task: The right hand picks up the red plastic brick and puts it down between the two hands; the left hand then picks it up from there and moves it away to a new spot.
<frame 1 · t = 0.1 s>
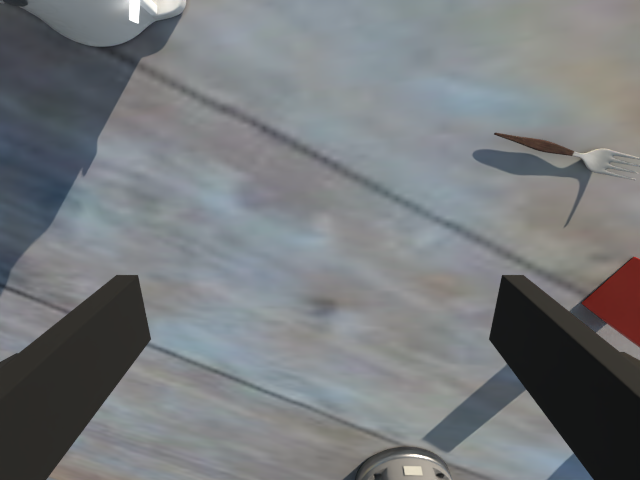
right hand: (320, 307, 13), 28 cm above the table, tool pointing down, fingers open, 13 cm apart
fork: (558, 150, 38), on the table
brick: (620, 291, 44), on the table
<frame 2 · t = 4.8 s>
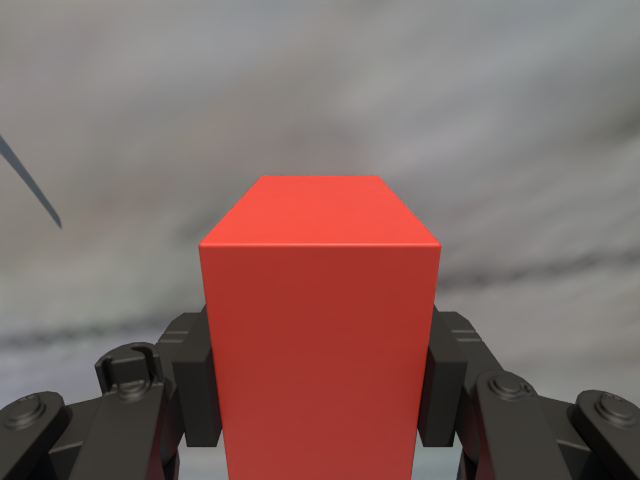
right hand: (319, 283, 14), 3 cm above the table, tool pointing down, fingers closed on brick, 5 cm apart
brick: (319, 257, 17), on the table, touching right hand
when the right hand's fingers open (4 cm above the table, at t = 14.8 s): brick drops 2 cm, on the table.
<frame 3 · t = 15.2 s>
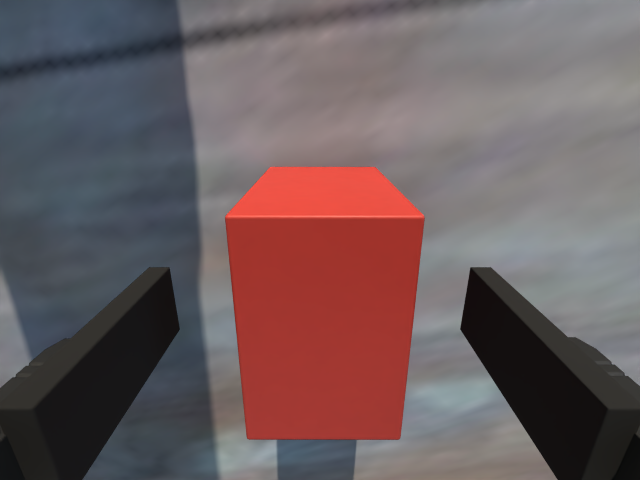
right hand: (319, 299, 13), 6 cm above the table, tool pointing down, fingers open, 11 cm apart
brick: (322, 242, 19), on the table
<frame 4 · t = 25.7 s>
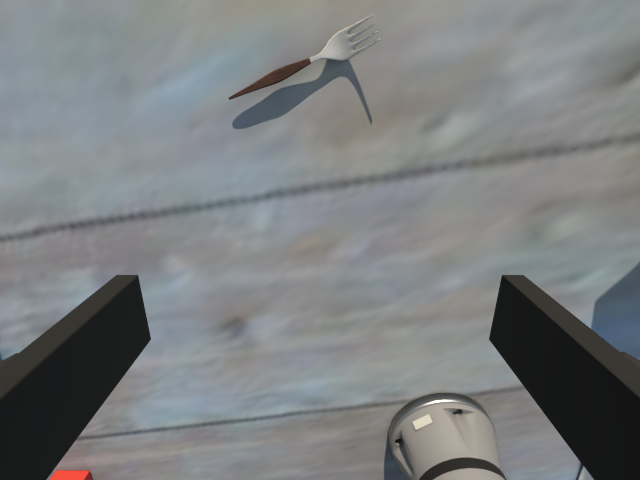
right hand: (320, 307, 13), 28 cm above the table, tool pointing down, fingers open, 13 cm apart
fork: (300, 66, 35), on the table
when the left hand's fingers open (7 cm above the table, at t = 30.5 s): brick drops 1 cm, on the table.
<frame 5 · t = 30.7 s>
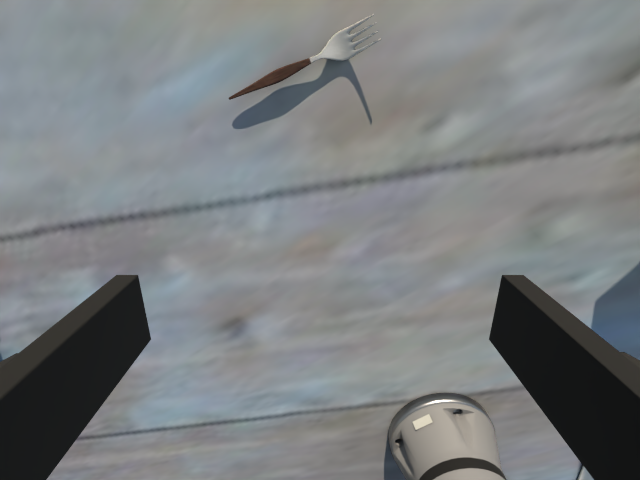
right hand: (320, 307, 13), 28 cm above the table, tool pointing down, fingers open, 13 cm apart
fork: (300, 66, 35), on the table
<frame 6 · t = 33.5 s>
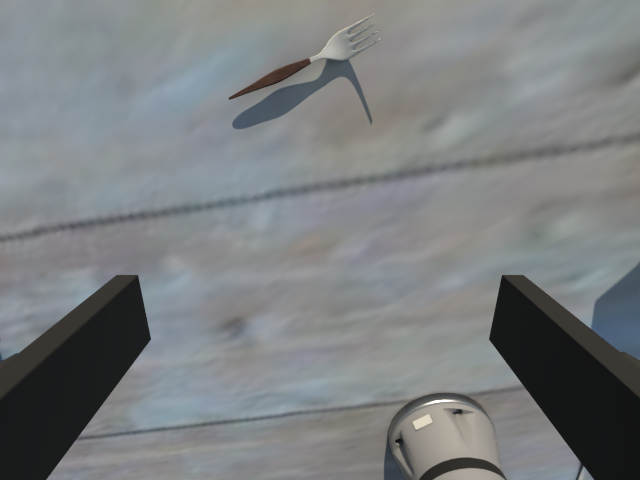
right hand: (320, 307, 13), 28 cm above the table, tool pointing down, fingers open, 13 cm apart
fork: (300, 66, 35), on the table
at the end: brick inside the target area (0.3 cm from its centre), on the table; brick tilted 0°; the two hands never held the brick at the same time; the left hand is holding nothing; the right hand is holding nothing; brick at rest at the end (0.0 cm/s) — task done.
